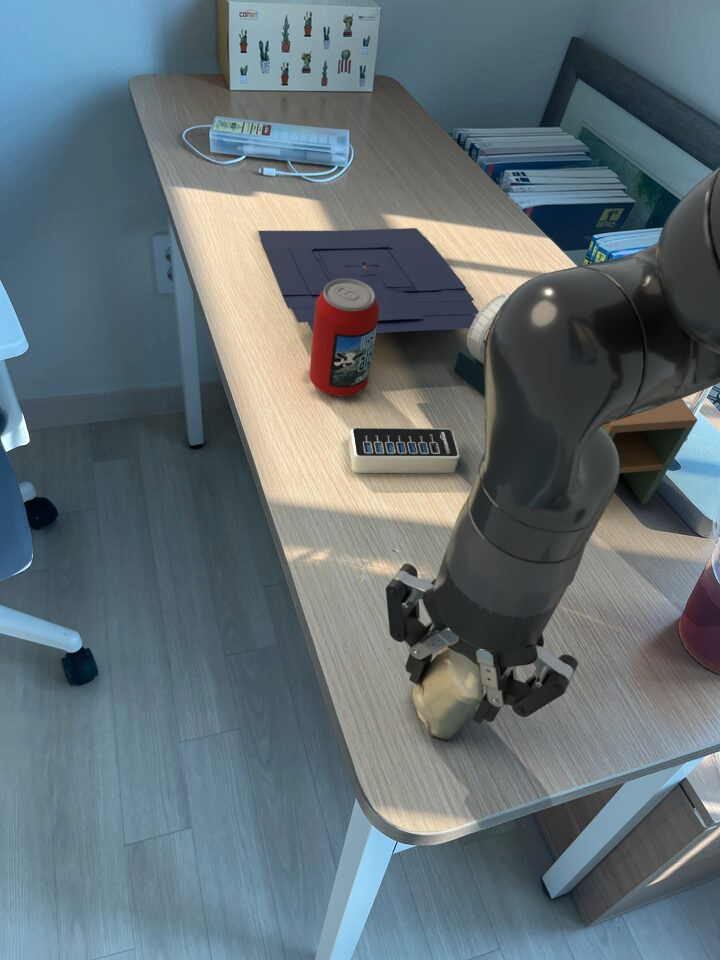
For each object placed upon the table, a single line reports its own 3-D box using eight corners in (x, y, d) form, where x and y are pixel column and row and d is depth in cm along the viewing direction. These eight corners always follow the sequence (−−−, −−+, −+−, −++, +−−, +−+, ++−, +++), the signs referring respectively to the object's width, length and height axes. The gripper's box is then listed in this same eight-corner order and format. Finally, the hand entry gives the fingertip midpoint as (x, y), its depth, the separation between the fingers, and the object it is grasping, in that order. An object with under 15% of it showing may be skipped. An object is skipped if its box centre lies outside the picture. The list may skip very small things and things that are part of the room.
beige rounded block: (488, 732, 60) (515, 683, 54) (432, 758, 58) (454, 710, 52) (451, 671, 63) (473, 620, 57) (397, 694, 61) (414, 643, 55)
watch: (521, 379, 92) (549, 302, 84) (476, 402, 87) (500, 324, 79) (488, 354, 94) (511, 277, 86) (442, 376, 90) (463, 297, 82)
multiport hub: (348, 442, 80) (350, 426, 79) (447, 443, 82) (452, 427, 81) (352, 472, 77) (355, 457, 76) (455, 473, 79) (460, 457, 78)
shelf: (647, 503, 80) (698, 419, 71) (570, 510, 78) (612, 425, 69) (603, 431, 87) (644, 347, 78) (531, 436, 85) (565, 350, 76)
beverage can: (346, 409, 84) (359, 320, 75) (297, 384, 86) (304, 294, 77) (377, 379, 88) (393, 291, 79) (329, 356, 90) (339, 267, 81)
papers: (296, 358, 87) (298, 330, 84) (255, 249, 108) (255, 224, 106) (491, 347, 93) (497, 320, 90) (415, 245, 114) (419, 222, 112)
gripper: (376, 543, 46) (345, 679, 58) (597, 669, 41) (514, 787, 54) (434, 472, 50) (394, 612, 63) (638, 579, 46) (552, 706, 59)
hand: (450, 692), depth 58 cm, fingers closed on beige rounded block, 5 cm apart
